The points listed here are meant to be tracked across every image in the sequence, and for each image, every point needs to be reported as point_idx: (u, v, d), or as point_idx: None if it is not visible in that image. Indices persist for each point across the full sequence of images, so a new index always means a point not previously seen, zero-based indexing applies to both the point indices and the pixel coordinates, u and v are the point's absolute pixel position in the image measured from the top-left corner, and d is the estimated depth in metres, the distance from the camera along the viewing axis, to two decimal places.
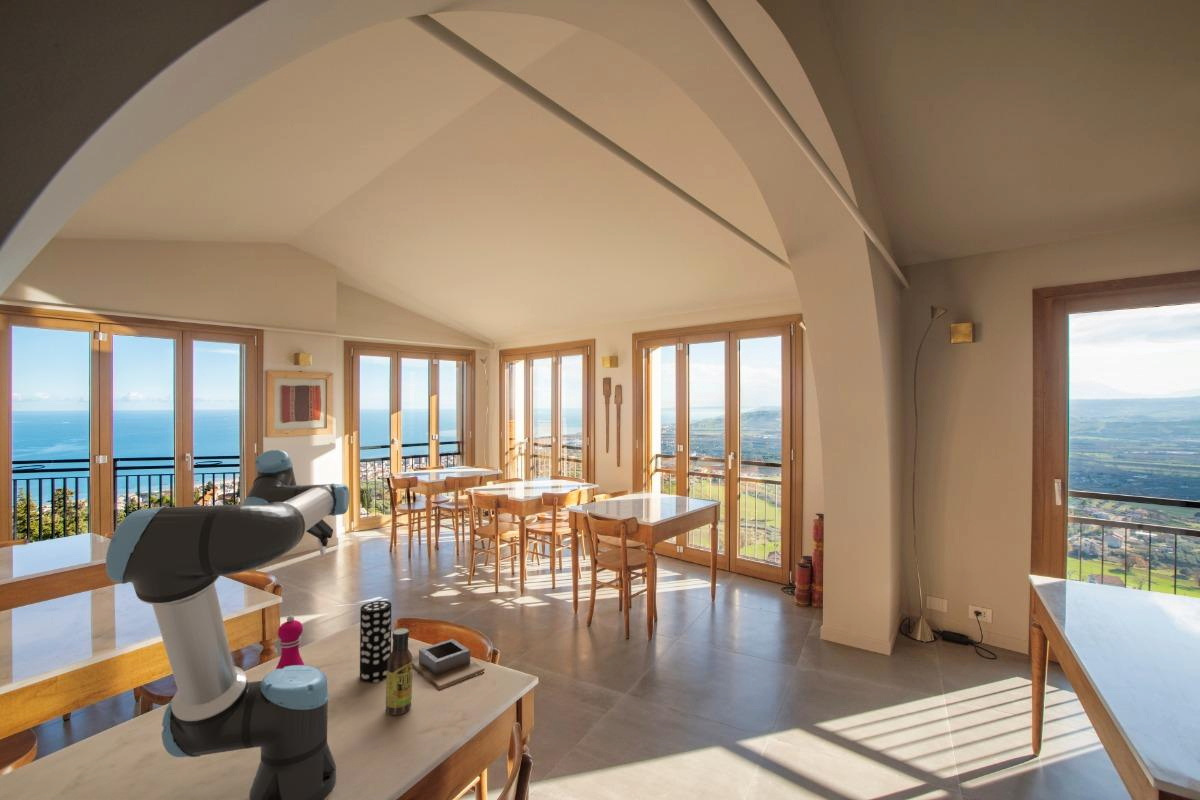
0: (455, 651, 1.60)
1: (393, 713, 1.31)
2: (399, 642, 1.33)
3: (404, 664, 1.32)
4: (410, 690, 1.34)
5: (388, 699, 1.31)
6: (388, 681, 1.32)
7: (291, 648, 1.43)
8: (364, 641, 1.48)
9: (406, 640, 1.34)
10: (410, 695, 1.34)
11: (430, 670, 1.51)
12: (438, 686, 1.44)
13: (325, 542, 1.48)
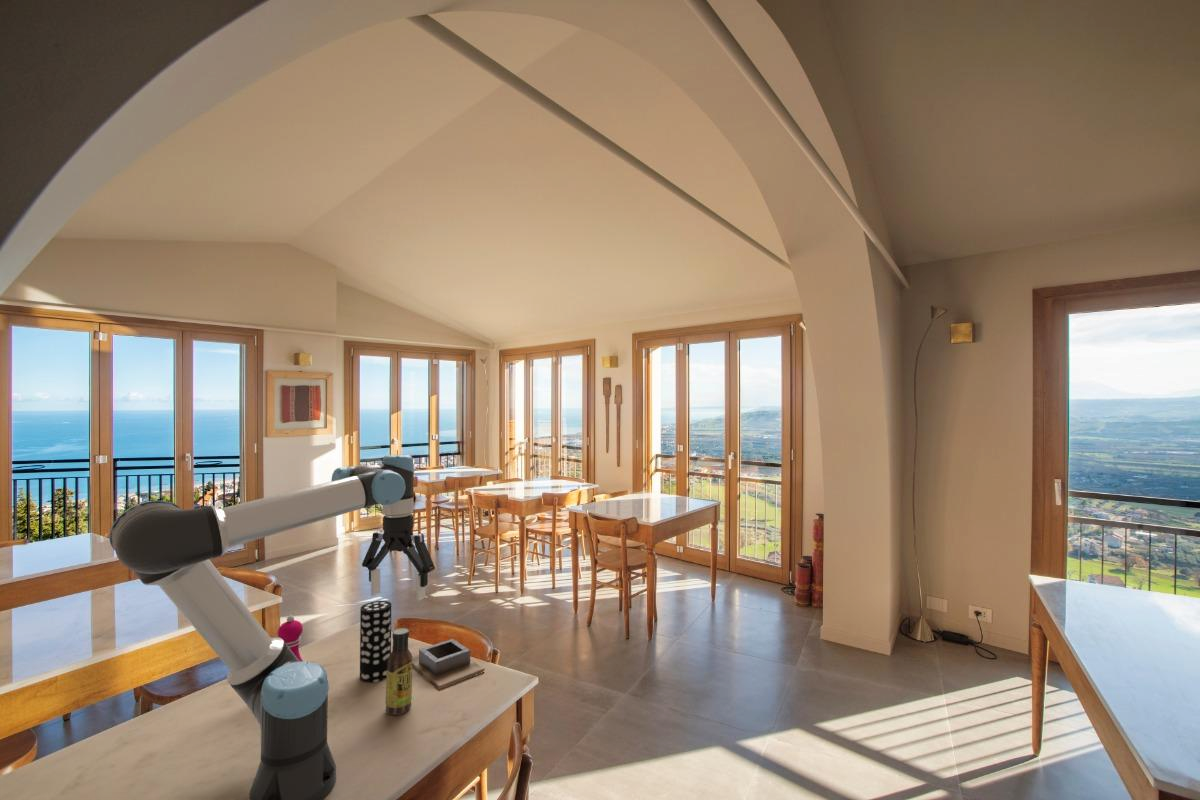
0: (455, 651, 1.60)
1: (393, 713, 1.31)
2: (399, 642, 1.33)
3: (404, 664, 1.32)
4: (410, 690, 1.34)
5: (388, 699, 1.31)
6: (388, 681, 1.32)
7: (291, 648, 1.43)
8: (364, 641, 1.48)
9: (406, 640, 1.34)
10: (410, 695, 1.34)
11: (430, 670, 1.51)
12: (438, 686, 1.44)
13: (423, 580, 1.32)
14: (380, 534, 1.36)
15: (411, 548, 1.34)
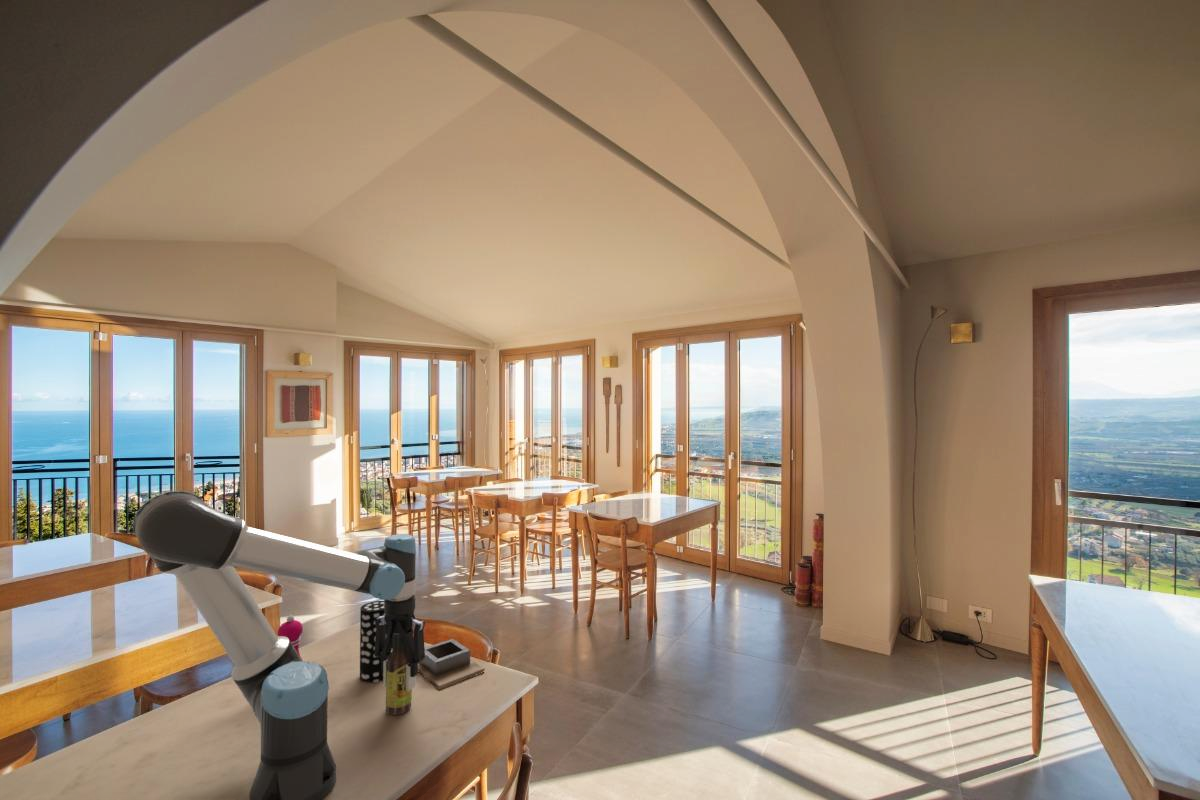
0: (455, 651, 1.60)
1: (393, 713, 1.31)
2: (399, 642, 1.33)
3: (404, 664, 1.32)
4: (410, 690, 1.34)
5: (388, 699, 1.31)
6: (388, 681, 1.32)
7: None
8: (364, 641, 1.48)
9: None
10: (410, 695, 1.34)
11: (430, 670, 1.51)
12: (438, 686, 1.44)
13: (413, 670, 1.32)
14: (382, 618, 1.36)
15: (409, 633, 1.34)
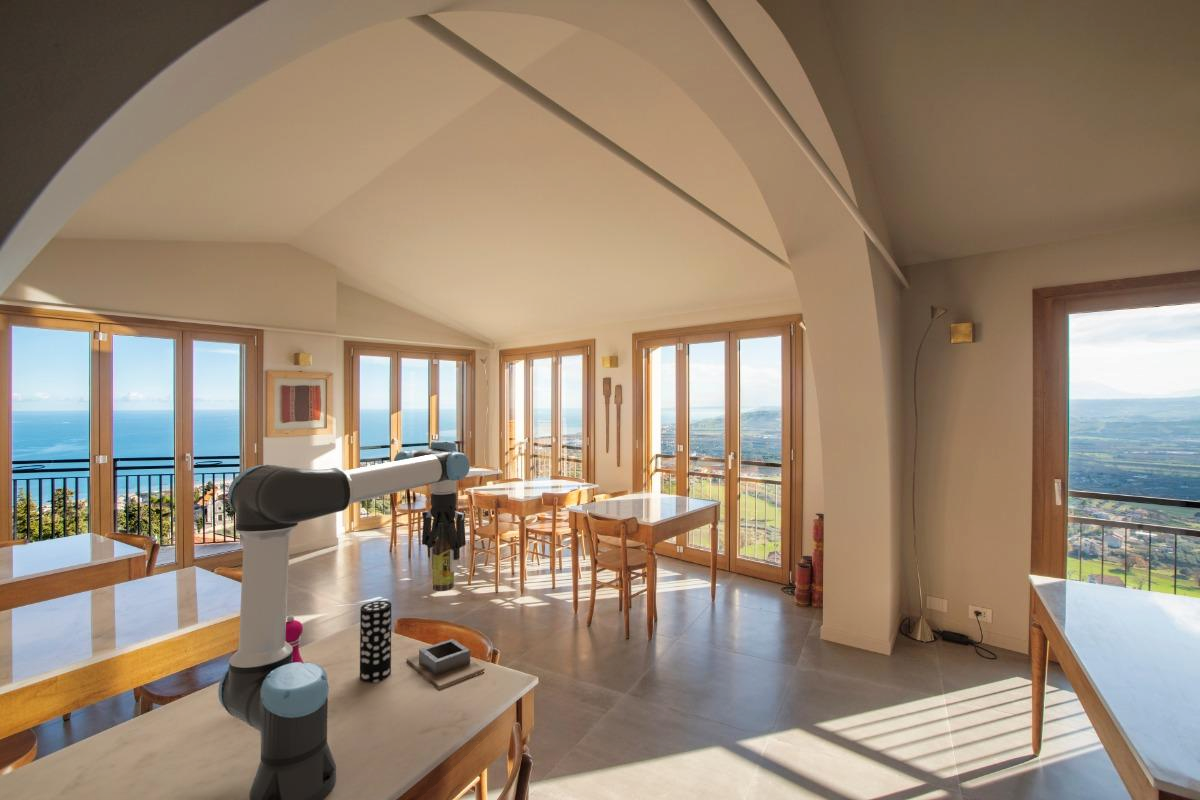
0: (455, 651, 1.60)
1: (439, 589, 1.53)
2: (443, 530, 1.55)
3: (448, 548, 1.54)
4: (453, 572, 1.56)
5: (435, 578, 1.53)
6: (435, 563, 1.54)
7: None
8: (364, 641, 1.48)
9: None
10: (453, 576, 1.56)
11: (430, 670, 1.51)
12: (438, 686, 1.44)
13: (456, 554, 1.54)
14: (428, 512, 1.57)
15: (452, 524, 1.56)
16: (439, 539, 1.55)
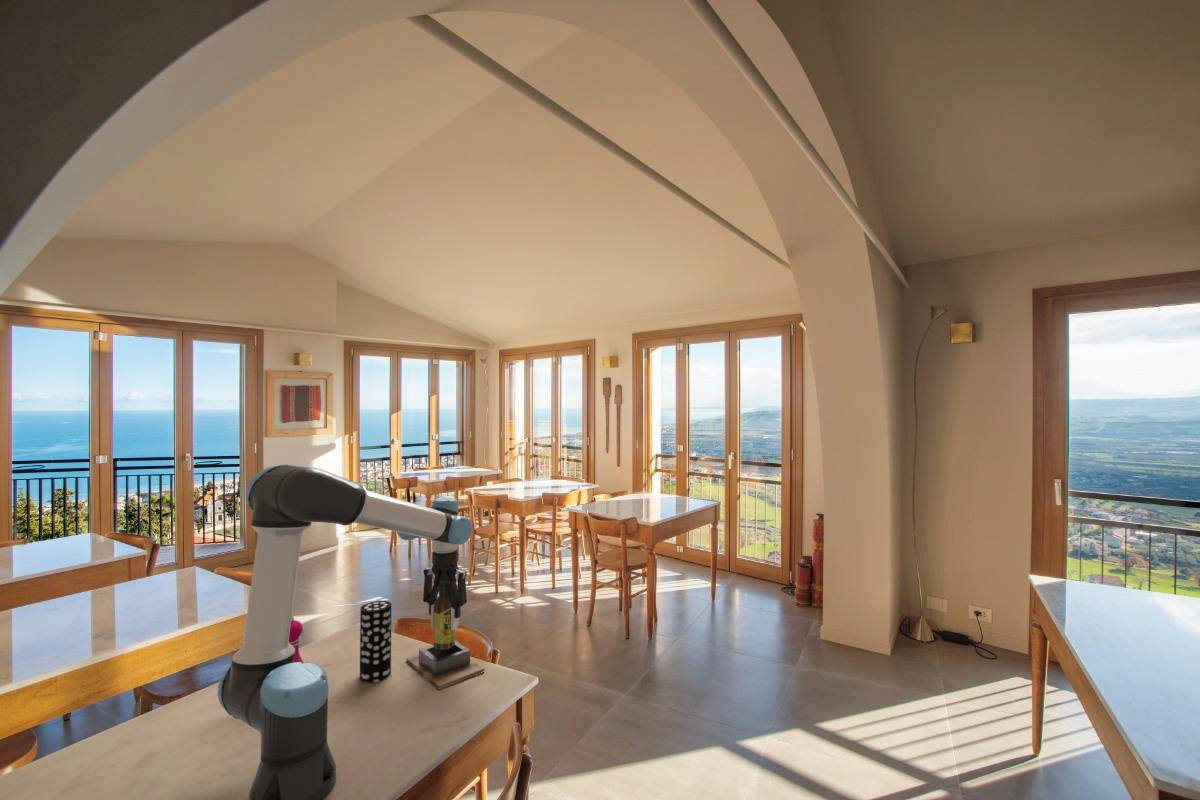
0: (455, 651, 1.60)
1: (440, 648, 1.53)
2: (445, 589, 1.56)
3: (449, 607, 1.55)
4: (454, 630, 1.56)
5: (436, 637, 1.54)
6: (436, 621, 1.54)
7: None
8: (364, 641, 1.48)
9: None
10: (454, 634, 1.56)
11: (430, 670, 1.51)
12: (438, 686, 1.44)
13: (457, 613, 1.55)
14: (429, 569, 1.58)
15: (453, 582, 1.56)
16: (440, 597, 1.55)
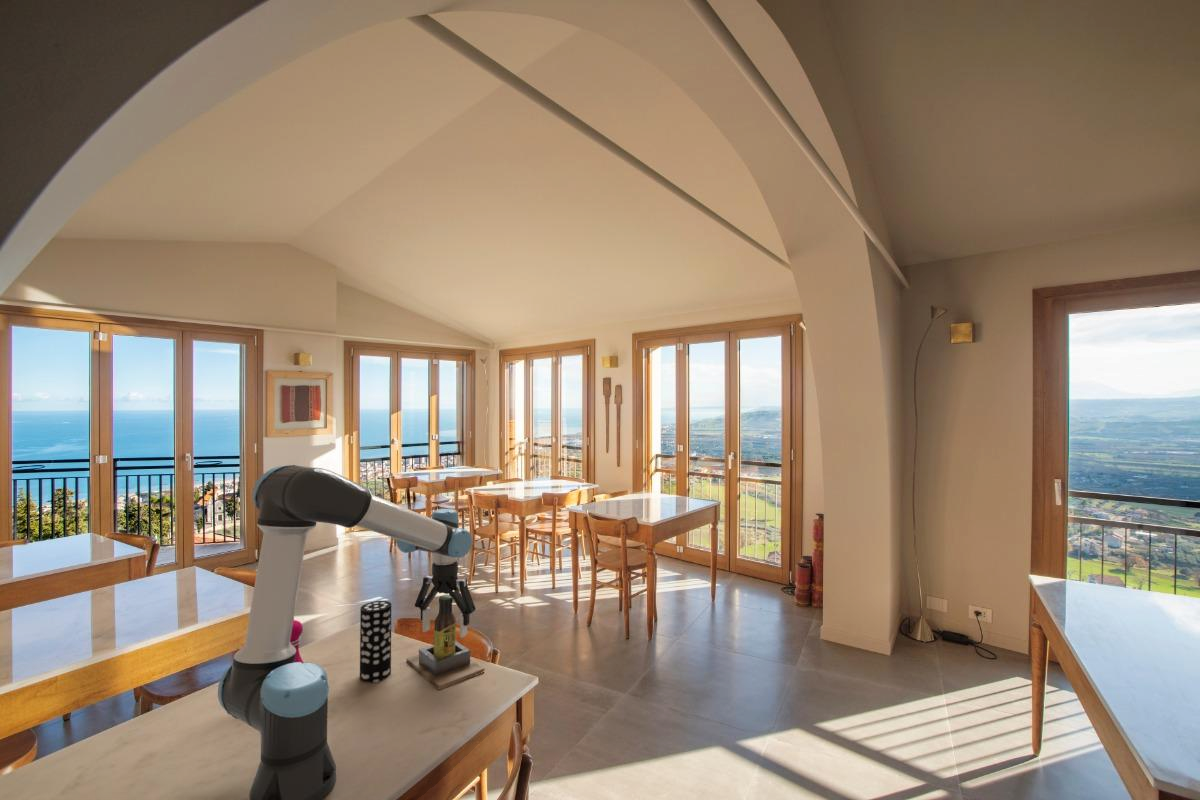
0: (455, 651, 1.60)
1: None
2: (445, 606, 1.55)
3: (449, 624, 1.54)
4: (454, 647, 1.56)
5: (436, 654, 1.54)
6: (436, 639, 1.54)
7: None
8: (364, 641, 1.48)
9: (450, 604, 1.56)
10: (454, 651, 1.56)
11: (430, 670, 1.51)
12: (438, 686, 1.44)
13: (466, 620, 1.54)
14: (429, 578, 1.58)
15: (456, 591, 1.56)
16: (440, 615, 1.55)
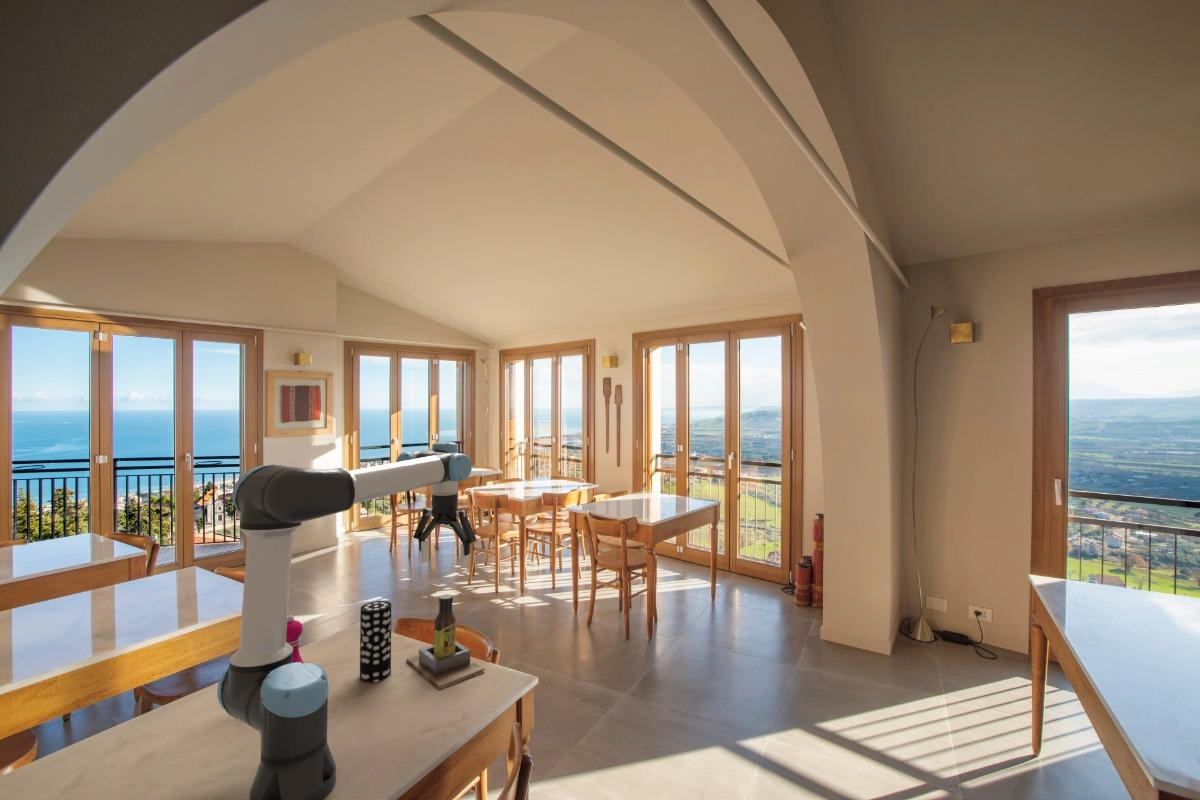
0: (455, 651, 1.60)
1: None
2: (445, 606, 1.55)
3: (449, 624, 1.55)
4: (454, 647, 1.56)
5: (436, 654, 1.54)
6: (436, 638, 1.54)
7: None
8: (364, 641, 1.48)
9: (451, 604, 1.57)
10: (454, 651, 1.56)
11: (430, 670, 1.51)
12: (438, 686, 1.44)
13: (466, 550, 1.54)
14: (429, 510, 1.58)
15: (456, 522, 1.56)
16: (440, 614, 1.55)
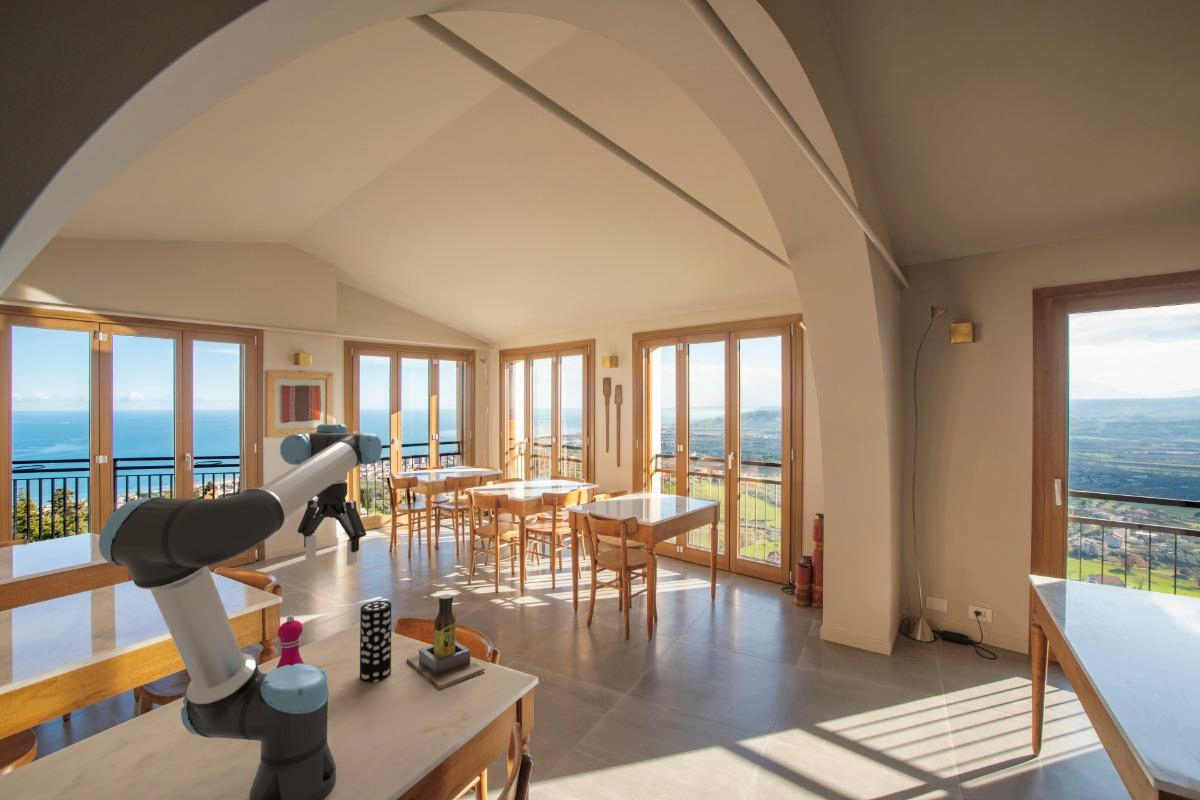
0: (455, 651, 1.60)
1: None
2: (445, 605, 1.55)
3: (449, 624, 1.55)
4: (454, 647, 1.56)
5: (436, 654, 1.54)
6: (436, 638, 1.54)
7: (291, 648, 1.43)
8: (364, 641, 1.48)
9: (450, 604, 1.57)
10: (454, 651, 1.56)
11: (430, 670, 1.51)
12: (438, 686, 1.44)
13: (354, 546, 1.35)
14: (315, 501, 1.40)
15: (344, 515, 1.38)
16: (440, 614, 1.55)
